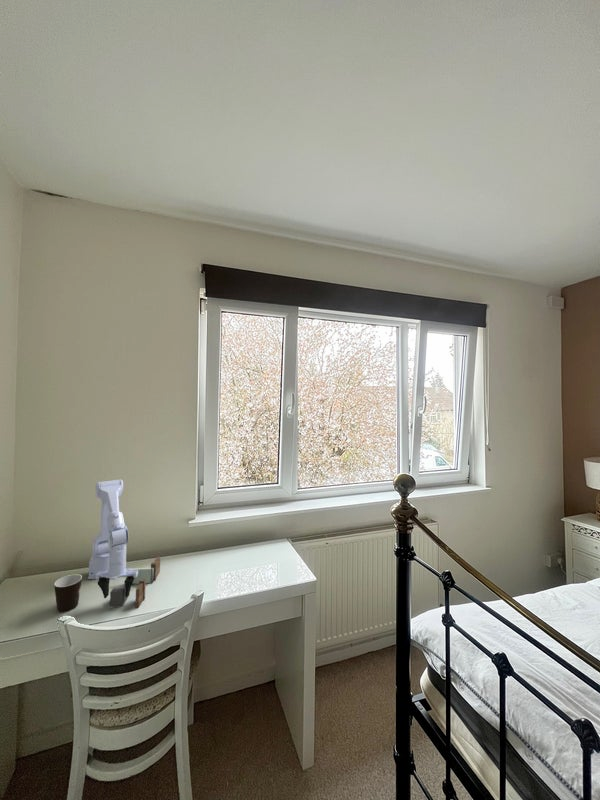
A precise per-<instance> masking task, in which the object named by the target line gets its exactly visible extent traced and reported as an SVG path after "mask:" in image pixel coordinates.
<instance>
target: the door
mask: <svg viewBox="0 0 600 800" xmlns="http://www.w3.org/2000/svg"><path fill="white" fill-rule="evenodd" d="M130 569H131V570H138V576H137V577H136V578H135V579H134V581H133V583H132V585H134V584H136V585H137V584H139V581H140V580H146V582H145V584H152V583H154V581H153V576H154V568H151V567H138V568H130ZM126 578H127V577H125V579H126Z"/></svg>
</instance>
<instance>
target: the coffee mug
mask: <svg viewBox="0 0 600 800" xmlns="http://www.w3.org/2000/svg"><path fill="white" fill-rule="evenodd" d="M82 580H83V575H81V574H78V573H77V574H76V573H74V574H69V575H65V576H62V577H60V578H58V579H56V580H55V582H54V583H53V588H54V594H55V603H56V610H57V612H58V613H67V612H70V611H72V610H74V609H76V608H77V607H78V605H79V601H80V593H81V588H82V587H81V586H82Z"/></svg>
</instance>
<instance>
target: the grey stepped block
mask: <svg viewBox="0 0 600 800" xmlns="http://www.w3.org/2000/svg"><path fill="white" fill-rule="evenodd" d="M109 593H110V594H109V608H118V607H119V608H120V607H124V605H125V603H126V602H127V600H128V598H129V596H130V594H129V595H128V597H125V586H123V587H122V586H121V587H113V588H112V589H111V590H110V591H109Z"/></svg>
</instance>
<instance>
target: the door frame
mask: <svg viewBox="0 0 600 800" xmlns="http://www.w3.org/2000/svg"><path fill="white" fill-rule="evenodd" d="M150 568H154V576H153V582H156V580H157V577H158V576H159V574H160V572H161V556H160V555H159V556H156V558H155V559H154V561H153V562H152V561H151V563H150ZM145 582H146V580H140V581H139V583H138V586H137V588H135V609H138V608H140V607H141V604H143V601H145V599H146V583H145Z"/></svg>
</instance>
